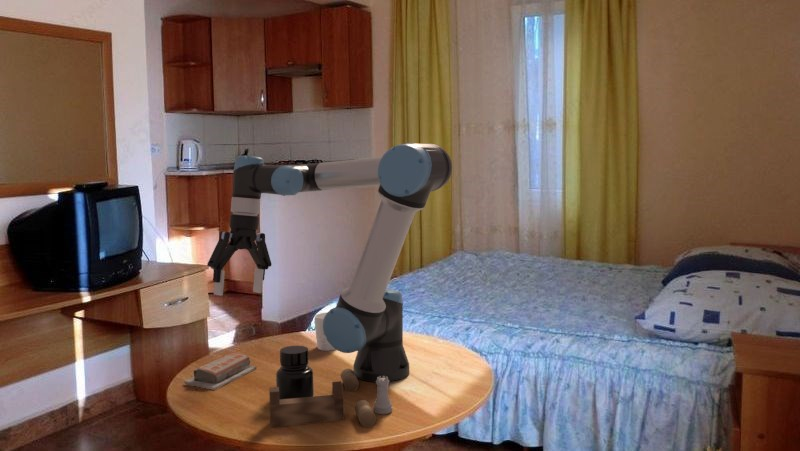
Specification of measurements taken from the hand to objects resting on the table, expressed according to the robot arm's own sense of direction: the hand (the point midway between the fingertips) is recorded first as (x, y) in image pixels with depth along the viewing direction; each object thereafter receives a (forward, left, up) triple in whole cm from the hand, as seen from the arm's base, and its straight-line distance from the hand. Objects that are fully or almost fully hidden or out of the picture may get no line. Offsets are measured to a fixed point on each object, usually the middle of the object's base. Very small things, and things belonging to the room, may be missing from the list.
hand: (238, 293), depth 181 cm
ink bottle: (-13, +21, -22) cm, 33 cm away
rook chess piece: (-32, +35, -22) cm, 52 cm away
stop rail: (-14, +36, -22) cm, 45 cm away
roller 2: (-27, +39, -22) cm, 52 cm away
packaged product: (+5, +1, -23) cm, 23 cm away
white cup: (-26, -18, -22) cm, 39 cm away
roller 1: (-27, +16, -22) cm, 39 cm away
